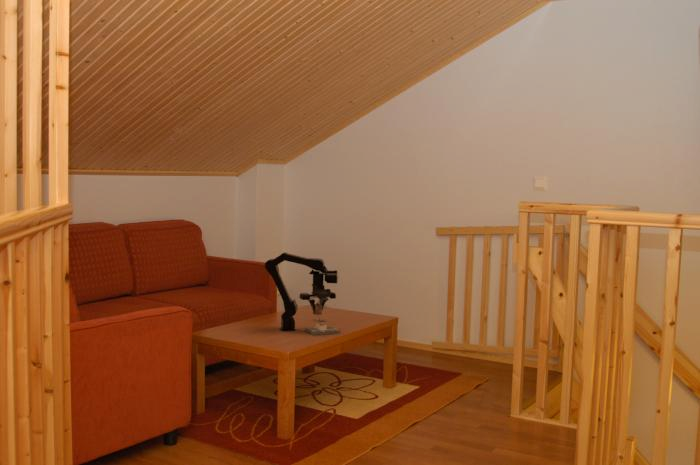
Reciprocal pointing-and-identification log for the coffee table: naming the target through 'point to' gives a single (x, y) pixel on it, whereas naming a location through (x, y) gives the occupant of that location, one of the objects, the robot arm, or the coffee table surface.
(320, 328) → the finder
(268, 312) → the coffee table surface
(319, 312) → the wooden knobbed box
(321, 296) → the robot arm
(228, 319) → the coffee table surface
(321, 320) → the figurine
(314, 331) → the board
